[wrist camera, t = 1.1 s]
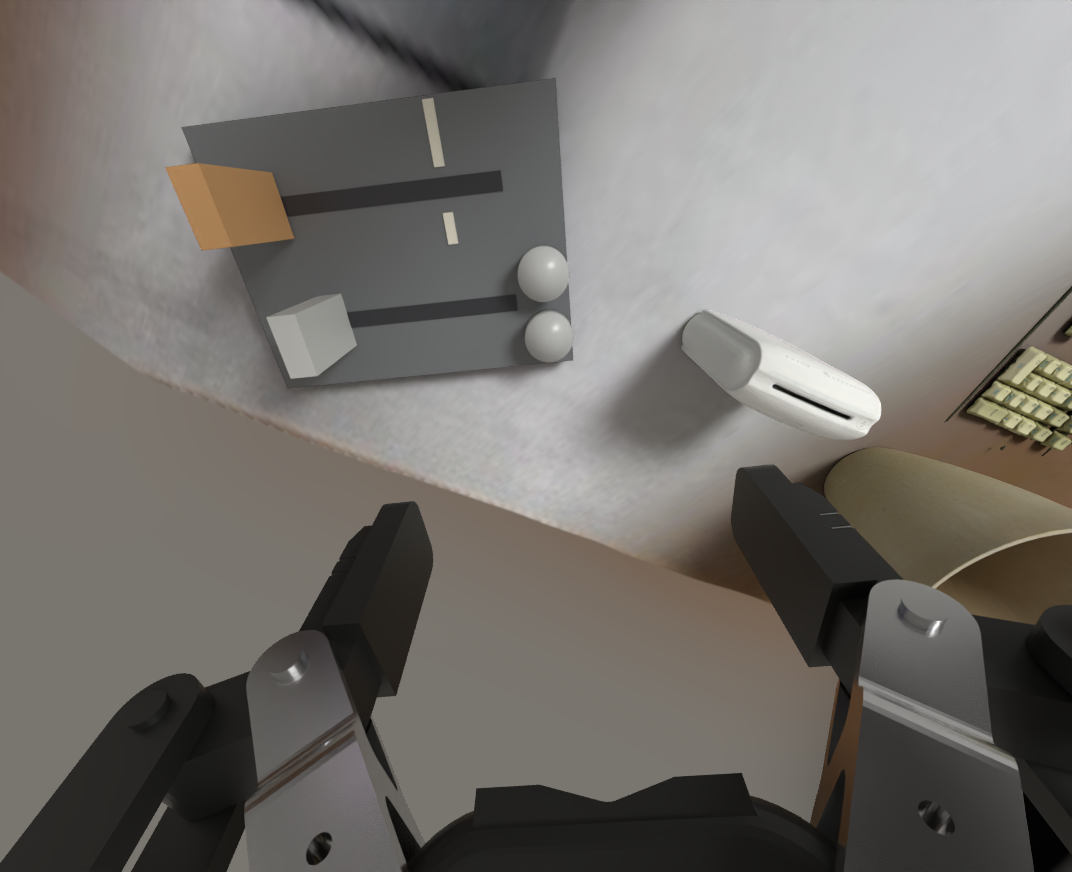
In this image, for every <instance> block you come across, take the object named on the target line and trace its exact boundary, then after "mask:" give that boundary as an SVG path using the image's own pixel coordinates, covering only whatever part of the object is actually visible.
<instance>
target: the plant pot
mask: <svg viewBox="0 0 1072 872" xmlns="http://www.w3.org/2000/svg"><path fill="white" fill-rule="evenodd" d="M824 493H825V496H826V499H827V500H828V501H829V502H830V503H831V505H832V506H833V507H834V508H835V509H836V510H837V511H838V514H839V515H840V514H841V515H842V516H843V517H844V518H845V519H846V520H847V521H848V522H849V523H850V524H851V528H855V529H856V530H857V532H858V533H859V534H860V535H861V536H862V537H863V538H864V539H865V540H866V541H867V542H868V543H869V544H870V545H871V546H872V547H873V548H874V549H875V550H876V551H877V552H878V553H879V554H880V555H881V556H882V557H883V558H884V560H885V561H886V562H887V563H888V564H889V565H890V566H891V567H892V568H893V569H894V570H895V571H896V572H897V573H898V574H899V575H900V576H901V577H902V578H903V579H904V580H907V581H913V582H917V583H921V584H924V585H927V586H929V587H932V588H934V589H936V590H939V591H941V592H943V593H944V594H946V595H948V596H950V597H951V598H953V599H954V600H956V601H957V602H959V603H960V604H961V605H962V606H963V607H965V608H966V609H967V610H968V611H969V612H970V613H971V614H973V615H978V616H984V617H990V618H996V619H1002V620H1008V621H1014V622H1021V623H1027V624H1033V625H1035V624H1036V622H1037V621H1038V619H1039V618H1040V616H1041V615H1042V614H1043V612H1044V611H1045V610H1046V609H1048V608H1049V607H1053V606H1056V605H1072V509H1070V508H1067V507H1065V506H1063V505H1060V504H1058V503H1056V502H1053V501H1051V500H1049V499H1046V498H1044V497H1041V496H1039V495H1036V494H1034V493H1031V492H1029V491H1026V490H1024V489H1021V488H1018V487H1016V486H1013V485H1010V484H1007V483H1005V482H1002V481H999V480H996V479H993V478H991V477H988V476H985V475H982V474H979V473H976V472H973V471H970V470H967V469H964V468H960V467H957V466H954V465H951V464H947V463H944V462H941V461H937V460H934V459H930V458H926V457H922V456H919V455H915V454H911V453H906V452H902V451H898V450H893V449H888V448H882V447H872V448H866V449H862V450H859V451H856V452H854V453H852V454H850V455H848V456H846V457H845V458H843V459H842V460H841V461H839V462H838V463H837V464H836V465H835V466H834V467H833V468H832V470H831V471H830V472H829V474H828V476H827V478H826V480H825V484H824Z"/></svg>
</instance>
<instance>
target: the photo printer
mask: <svg viewBox="0 0 1072 872" xmlns="http://www.w3.org/2000/svg"><path fill="white" fill-rule="evenodd" d="M682 342H683V345H682V347H681V348H682V350H683V351H684V352H685V353H686V354H687V355H688V356H689V357H690V358H691V359H692V360H693V361H694V362H695V363H696V364H697V365H698V366H700V367H701V368H702V369H703V370H704V371H705V372H706V373H707V374H708V375H709V376H710V377H711V378H712V379H713V380H714V381H715V382H716V383H717V384H718V385H719V386H720V387H721V388H722V389H723V390H725V391H726V392H727V393H728V394H729V395H731V396H732V397H733V398H734V399H736V400H737V401H739V402H740V403H742V404H744V405H746V406H748V407H750V408H752V409H754V410H756V411H758V412H760V413H762V414H764V415H766V416H768V417H770V418H773V419H775V420H777V421H780V422H782V423H784V424H787V425H789V426H792V427H794V428H797V429H800V430H802V431H805V432H808V433H811V434H814V435H817V436H820V437H826V438H831V439H838V440H852V439H857V438H860V437H863V436H865V435H866V434H867V433H868V431H869V429H870V428H871V426H872V425H873V424H874V423H876V422H877V421H878V420H879V418H880V416H881V403H880V400H879V398H878V397H877V395H876V394H875V393H874V392H873V391H872V390H871V389H870V388H869V387H867V386H866V385H865V384H863V383H861V382H860V381H858V380H856V379H854V378H852V377H851V376H849V375H847V374H845V373H843V372H841V371H840V370H838V369H836V368H834V367H832V366H830V365H828V364H827V363H825V362H823V361H821V360H819V359H818V358H816V357H814V356H812V355H810V354H809V353H807V352H805V351H803V350H801V349H799V348H797V347H795V346H793V345H791V344H789V343H787V342H785V341H783V340H781V339H779V338H777V337H775V336H773V335H771V334H769V333H767V332H765V331H762V330H760V329H758V328H756V327H754V326H751V325H749V324H747V323H744V322H742V321H740V320H737V319H734V318H732V317H729V316H727V315H724V314H722V313H718V312H715V311H710V310H703V311H702V313H699V314H697V315H695V316H694V317H693V318H692V319H691V320H690V321H689V322H688V323H687V325H686V326H685V328H684V331H683V334H682Z"/></svg>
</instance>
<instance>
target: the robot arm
mask: <svg viewBox="0 0 1072 872" xmlns="http://www.w3.org/2000/svg"><path fill="white" fill-rule="evenodd" d="M731 525H732V531H733V535H734V538H735V540H736V542H737V544H738V546H739V548H740V549H741V551H742V553H743V555H744V556H745V558H746V560H747V561H748V563H749V565H750V567H751V568H752V570H753V572H754V574H755V575H756V577H757V579H758V580H759V582H760V584H761V586H762V587H763V589H764V591H765V593H766V594H767V596H768V598H769V599H770V601H771V603H772V605H773V606H774V608H775V610H776V611H777V613H778V615H779V616H780V618H781V620H782V622H783V624H784V625H785V627H786V628H787V630H788V632H789V634H790V635H791V637H792V639H793V641H794V643H795V644H796V646H797V648H798V649H799V651H800V653H801V655H802V656H803V658H804V660H805V661H806V663H807V665H808V666H809V667H819V666H832V667H833V669H834V671H835V673H836V674H837V676H838V677H839V680H838V683H837V686H836V690H835V697H834V703H833V709H832V715H831V721H830V727H829V733H828V739H827V745H826V751H825V757H824V763H823V769H822V774H821V780H820V784H819V788H818V791H817V795H816V799H815V802H814V807H813V811H812V815H811V820H810V823H808V822H807V821H805V820H804V819H802V818H801V817H799V816H797V815H796V814H794V813H792V812H790V811H788V810H786V809H784V808H782V807H780V806H778V805H776V804H773V803H770V802H768V801H766V800H763V799H760V798H757V797H753V796H750V795H749V792H748V790H747V787H746V784H745V781H744V778H743V776H742V773H733V774H716V775H699V776H682V777H673V778H671V779H668V780H666V781H663V782H661V783H658V784H656V785H653V786H651V787H648V788H646V789H643V790H641V791H638V792H636V793H633V794H631V795H628V796H626V797H623V798H621V799H618V800H616V801H613V802H603V801H598V800H595V799H591V798H587V797H584V796H580V795H576V794H572V793H568V792H564V791H561V790H557V789H553V788H550V787H546V786H542V785H528V786H513V787H512V786H511V787H493V788H478V789H476V798H475V807H474V811H472V812H470V813H467V814H465V815H463V816H462V817H460V818H458V819H456V820H454V821H453V822H451V823H450V824H448V825H447V826H446V827H444V828H443V829H442V830H440V831H439V832H438V833H436V834H435V835H434V836H433V837H432V838H431V839H430V840H429V841H428V842H427V843H425V842H424V839H423V837H422V835H421V832H420V830H419V828H418V826H417V824H416V822H415V819H414V818H413V815H412V813H411V811H410V809H409V807H408V805H407V803H406V800H405V798H404V796H403V793H402V791H401V788H400V785H399V783H398V780H397V778H396V775H395V773H394V770H393V767H392V765H391V762H390V760H389V757H388V755H387V752H386V749H385V747H384V744H383V742H382V739H381V737H380V734H379V731H378V729H377V727H376V724H375V722H374V719H373V718H372V715H371V714H372V711H373V708H374V704H375V701H376V698H377V697H387V696H396V694H397V690H398V687H399V684H400V680H401V677H402V673H403V669H404V666H405V663H406V659H407V656H408V652H409V648H410V645H411V641H412V638H413V635H414V630H415V628H416V624H417V620H418V617H419V613H420V610H421V606H422V603H423V600H424V596H425V592H426V589H427V586H428V582H429V578H430V575H431V571H432V567H433V552H432V547H431V543H430V540H429V537H428V534H427V531H426V528H425V525H424V522H423V519H422V516H421V513H420V510H419V508H418V505H417V504H416V503H415V502H414V501H412V502H403V503H402V502H401V503H392V504H385V505H383V506H382V508H381V509H380V512H379V513H378V515H377V517H376V519H375V521H374V523H373V525H372V526H365V527H363V528H362V529H361V530H360V531H359V532H358V533H357V534H356V535H355V536H354V537H353V538H352V539H351V540H350V541H349V542H348V544H347V546H346V547H345V549H344V551H343V553H342V555H341V556H340V558H339V559H340V561H339V562H337V564H336V565H335V567H334V569H333V571H332V576H330V577H329V578H328V580H327V582H326V584H325V585H324V587H323V589H322V591H321V593H320V594H319V596H318V598H317V600H316V601H315V603H314V605H313V607H312V609H311V611H310V612H309V614H308V616H307V618H306V620H305V621H304V623H303V625H302V627H301V629H300V630H299V632H296V633H293V634H290V635H288V636H286V637H284V638H283V639H281V640H279V641H278V642H276V643H275V644H273V645H272V646H271V647H270V648H268V649H267V650H266V651H265V652H264V653H263V654H262V656H260V658H259V659H258V660H257V662H256V663H255V664H254V666H253V667H252V669H251V671H249V672H246V673H244V674H241V675H238V676H235V677H233V678H230V679H227V680H225V681H222V682H219V683H217V684H214V685H211V686H208V687H206V688H205V687H203V685H202V684H201V683H200V682H199V681H198V679H197V678H196V677H195V676H193V675H191V674H186V673H183V674H176V675H172V676H168V677H166V678H163V679H161V680H159V681H157V682H155V683H153V684H151V685H150V686H148V687H146V688H145V689H143V690H142V691H140V692H139V693H138V694H136V695H135V696H134V697H132V698H131V699H130V700H129V701H128V702H127V703H126V704H125V705H124V706H123V707H122V708H121V709H120V710H119V711H118V712H117V713H116V714H115V715H114V717H113V718H112V719H111V720H110V721H109V723H108V724H107V725H106V727H105V728H104V729H103V731H102V732H101V733H100V735H99V736H98V737H97V739H96V740H95V741H94V742H93V744H92V745H91V746H90V747H89V749H88V750H87V751H86V753H85V754H84V755H83V757H82V758H81V759H80V760H79V762H78V763H77V764H76V766H75V767H74V768H73V769H72V771H71V772H70V773H69V775H68V776H67V777H66V779H65V780H64V781H63V783H62V784H61V785H60V786H59V788H58V789H57V790H56V792H55V793H54V794H53V795H52V797H51V798H50V799H49V801H48V802H47V803H46V804H45V806H44V807H43V808H42V810H41V811H40V812H39V814H38V815H37V816H36V817H35V819H34V820H33V821H32V823H31V824H30V825H29V827H28V828H27V829H26V830H25V832H24V833H23V834H22V836H21V837H20V838H19V840H18V841H17V842H16V843H15V845H14V846H13V847H12V849H11V850H10V851H9V853H8V854H7V855H6V856H5V858H4V859H3V860H2V862H1V863H0V872H122V870H123V868H124V866H125V864H126V862H127V861H128V859H129V857H130V856H131V854H132V852H133V851H134V849H135V847H136V846H137V844H138V842H139V840H140V838H141V837H142V835H143V833H144V832H145V830H146V828H147V827H148V825H149V823H150V821H151V820H152V818H153V816H154V814H155V813H156V811H157V809H158V808H159V806H160V804H161V802H163V803H164V804H166V805H167V806H168V807H167V809H166V811H165V813H164V814H163V816H162V818H161V820H160V821H159V823H158V825H157V827H156V828H155V830H154V832H153V834H152V836H151V838H150V839H149V841H148V843H147V844H146V846H145V848H144V850H143V851H142V853H141V855H140V857H139V858H138V861H137V862H136V864H135V866H134V868H133V869H132V871H131V872H226V871H227V869H228V867H229V864H230V862H231V860H232V857H233V855H234V853H235V850H236V848H237V845H238V843H239V841H240V838H241V836H242V834H243V831H244V829H246V840H247V851H248V861H249V872H1034V869H1033V862H1032V855H1031V849H1030V842H1029V835H1028V828H1027V821H1026V815H1025V808H1024V802H1023V794H1022V790H1023V791H1024V792H1025V794H1026V795H1027V797H1028V798H1029V799H1030V801H1031V802H1032V803H1033V804H1034V806H1035V807H1036V808H1037V809H1038V811H1039V812H1040V814H1041V815H1042V816H1043V817H1044V819H1045V820H1046V821H1047V823H1048V824H1049V825H1050V827H1051V828H1052V829H1053V831H1055V833H1056V834H1057V836H1058V837H1059V838H1060V840H1061V841H1062V842H1063V844H1064V845H1065V846H1066V848H1067V849H1068V850H1069V851H1070V853H1071V854H1072V605H1056V606H1053V607H1049V608H1048V609H1046V610H1045V611H1044V612H1043V614H1042V615H1041V616H1040V618H1039V619H1038V621H1037V622H1036V624H1035V625H1033V624H1027V623H1021V622H1014V621H1008V620H1002V619H996V618H990V617H984V616H978V615H973V614H971V613H970V612H969V611H968V610H967V609H966V608H965V607H963V606H962V605H961V604H960V603H959V602H957V601H956V600H954V599H953V598H951V597H950V596H948V595H946V594H944V593H943V592H941V591H939V590H936V589H934V588H932V587H929V586H927V585H924V584H921V583H917V582H913V581H907V580H904V579H903V578H902V577H901V576H900V575H899V574H898V573H897V572H896V571H895V570H894V569H893V568H892V567H891V566H890V565H889V564H888V563H887V562H886V561H885V560H884V558H883V557H882V556H881V555H880V554H879V553H878V552H877V551H876V550H875V549H874V548H873V547H872V546H871V545H870V544H869V543H868V542H867V541H866V540H865V539H864V538H863V537H862V536H861V535H860V534H859V533H858V532H857V530H856V529H855V528H851V524H850V523H849V522H848V521H847V520H846V519H845V518H844V517H843V516H842V515H841V514H840V515H839V514H838V511H837V510H836V509H835V508H834V507H833V506H832V505H831V503H830V502H829V501H828V500H827V499H826V498H825V497H824V496H823V495H821V494H819V493H818V492H816V491H814V490H812V489H811V488H809V487H807V486H805V485H803V484H802V483H794V484H792V483H791V482H790V481H789V480H788V479H787V477H786V476H785V475H784V474H783V473H782V472H781V471H780V470H779V469H778V468H777V467H776V466H775V465H762V466H752V467H743V468H739V469H738V471H737V473H736V479H735V488H734V496H733V505H732V513H731Z"/></svg>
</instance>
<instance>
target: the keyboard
mask: <svg viewBox="0 0 1072 872" xmlns="http://www.w3.org/2000/svg"><path fill="white" fill-rule="evenodd" d="M1071 292H1072V288H1071V289H1070V290H1069V291H1068V292H1067V293H1066V294H1065V295H1064V296H1063V297H1062V298H1061V300H1060V301H1059V302H1058V303H1057V304H1056V305H1055V306H1054V307H1053V308H1052V309H1051V310H1050V311H1049V312H1048V313H1047V314H1046V315H1045V316H1044V317H1043V318H1042V319H1041V320H1040V321H1039V322H1038V323H1037V324H1036V326H1034V328H1033V329H1032V330H1031V331H1030V332H1029V333H1028V334H1027V335H1026V336H1025V337H1024V338H1023V339H1022V340H1021V341H1020V342H1019V343H1018V344H1017V345H1016V346H1015V348H1014V349H1013V350H1012V351H1011V352H1010V353H1009V354H1008V355H1007V356H1006V357H1005V358H1004V359H1003V360H1002V361H1001V362H1000V363H999V364H998V366H997V367H996V368H995V369H994V370H993V371H992V372H991V373H990V374H989V375H988V376H987V377H986V378H985V379H984V380H983V381H982V383H981V384H980V385H979V386H978V387H977V388H976V389H975V390H974V391H973V392H972V393H971V394H970V395H969V396H968V397H967V398H966V400H965V401H964V402H963V403H962V404H961V405H960V406H959V407H958V408H957V409H956V410H955V411H954V412H953V413H952V414H951V415H950V417H949V418H948V419H947V420H946V421H948V420H949V419H950V418H951V417H952V416H953V415H954V414H955V413H956V412H957V411H958V410H959V409H960V408H961V407H962V406H963V405H964V404H965V403H966V402H967V401H968V400H969V399H970V398H971V396H972V395H973V394H974V393H975V392H976V391H977V390H978V389H979V388H980V387H981V386H982V385H983V384H984V383H985V382H986V381H987V380H988V379H989V378H990V377H991V376H992V375H993V374H994V372H995V371H996V370H997V369H999V368H1000V366H1002V364H1003V363H1004V362H1005V361H1006V360H1007V359H1008V358H1009V357H1010V356H1011V355H1012V354H1013V353H1014V352H1015V351H1016V349H1017V348H1018V347H1019V346H1021V345H1022V343H1023V342H1024V341H1025V340H1026V339H1027V338H1028V337H1029V336H1030V335H1031V334H1032V333H1033V332H1034V331H1035V330H1036V328H1037V327H1038V326H1039V325H1040V324H1041V323H1042V322H1043V321H1044V320H1045V319H1046V318H1047V317H1048V316H1049V315H1050V314H1051V313H1052V312H1053V311H1054V310H1055V309H1056V308H1057V307H1058V306H1059V305H1060V303H1061V302H1062V301H1063V300H1064V299H1065V298H1066V297H1067V296H1068V295H1069V294H1070V293H1071ZM1063 332H1064V333H1065V334H1066V335H1068V336H1070V337H1072V322H1071V325H1070V326H1069V327H1068V329H1067V330H1064V331H1063ZM1064 411H1072V365H1070V364H1067V363H1065V362H1063V361H1061V360H1059V359H1057V358H1055V357H1053V356H1051V355H1049V354H1046V353H1044V352H1042V351H1040V350H1038V349H1036V348H1034V347H1032V346H1030V347H1028V348H1027V349H1026V350H1025V349H1022V350H1020V351H1019V352H1018V353H1017V354H1016V356H1015V359H1014V360H1013V361H1012V362H1011V363H1010V364H1009V365H1008V366H1007V367H1004V368H1003V369H1002V371H1001V372H1000V373H999V374H998V376H997V377H996V378H995V379H994V380H993V384H992V385H991V386H989V388H987V389H986V390H985V392H984V393H983V394H980V395H979V396H978V397H977V398H976V399H975V401H974V402H973V403H972V404H971V405H970V406H969V407H968V408H967V411H966V413H969V414H973V415H975V416H978V417H981V418H984V419H985V420H987V421H989V422H990V423H993V424H995V425H998V426H1001V427H1003V428H1004V429H1007V430H1009V431H1011V432H1013V433H1016V434H1018V435H1021V436H1024V437H1027V438H1030V439H1031V440H1035V441H1040V442H1039V444H1042V445H1045V446H1048V447H1050V449H1048V450H1047V451H1046V452H1045V453H1044V454H1043V455H1042V456H1044V455H1045V454H1046V453H1047V452H1048V451H1050V450H1051V449H1057V450H1063V449H1064V448H1065V447H1066V446H1067V445H1069V444H1070V443H1071V444H1072V440H1070V439H1069V438H1068V437H1067V435H1068V434H1071V435H1072V412H1071V413H1070V414H1069V415H1067V414H1066V413H1065V412H1064ZM946 421H945V422H946ZM945 422H944V423H945ZM1047 426H1056V427H1054V428H1053V429H1052V432H1051V431H1050V429H1049V428H1048V427H1047ZM1004 448H1005V446H1004V447H1003V448H1002V447H1001V448H1000V449H1001V450H1003V449H1004Z"/></svg>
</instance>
